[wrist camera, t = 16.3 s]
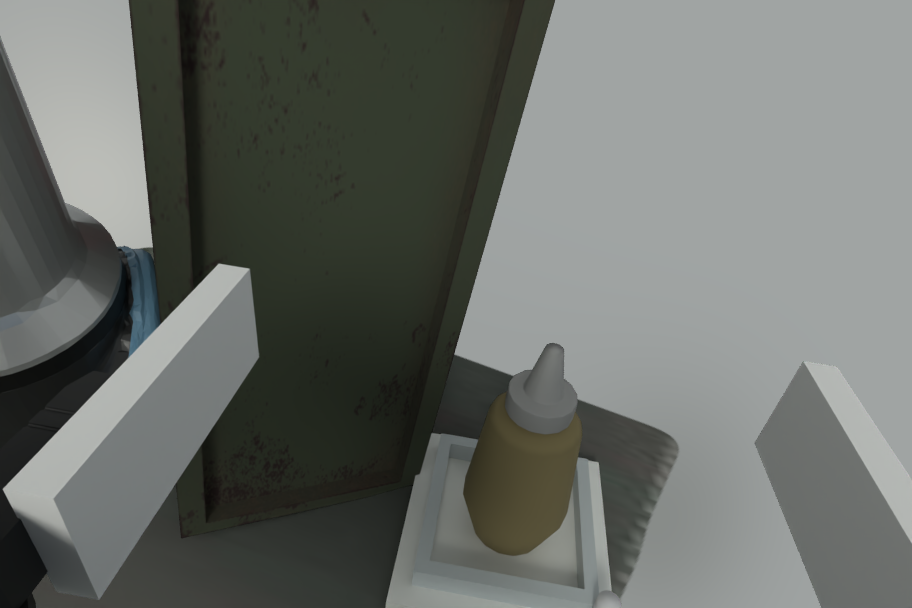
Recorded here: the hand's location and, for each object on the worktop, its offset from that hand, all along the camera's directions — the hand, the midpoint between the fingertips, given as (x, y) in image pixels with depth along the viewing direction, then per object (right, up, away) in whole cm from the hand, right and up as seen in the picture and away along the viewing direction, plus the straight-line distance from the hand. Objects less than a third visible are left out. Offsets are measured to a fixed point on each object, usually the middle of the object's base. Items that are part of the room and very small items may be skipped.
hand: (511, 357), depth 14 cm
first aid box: (-17, -10, +38) cm, 43 cm away
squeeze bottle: (+3, -16, +32) cm, 36 cm away
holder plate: (+3, -17, +32) cm, 37 cm away
